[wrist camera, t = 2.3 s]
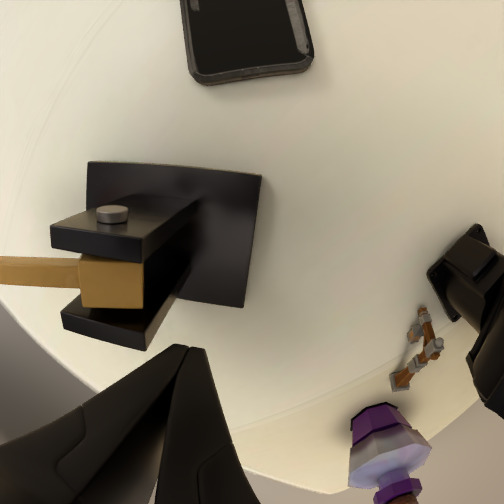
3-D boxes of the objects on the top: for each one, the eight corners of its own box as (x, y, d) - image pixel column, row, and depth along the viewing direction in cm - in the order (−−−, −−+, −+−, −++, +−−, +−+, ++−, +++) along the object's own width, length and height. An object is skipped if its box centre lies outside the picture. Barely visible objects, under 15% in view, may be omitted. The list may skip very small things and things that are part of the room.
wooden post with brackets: (436, 299, 20) (453, 348, 16) (400, 350, 25) (409, 391, 22) (418, 300, 20) (435, 351, 16) (384, 352, 25) (392, 394, 22)
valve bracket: (96, 275, 21) (21, 341, 12) (95, 160, 18) (-4, 175, 9) (244, 300, 21) (230, 400, 12) (262, 174, 18) (259, 193, 9)
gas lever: (-45, 280, 10) (-70, 305, 8) (-54, 229, 9) (-83, 247, 6) (144, 290, 15) (143, 324, 12) (144, 230, 14) (141, 254, 11)
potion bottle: (388, 440, 27) (412, 519, 15) (323, 441, 27) (335, 534, 15) (424, 391, 24) (467, 477, 13) (354, 390, 24) (386, 499, 12)
